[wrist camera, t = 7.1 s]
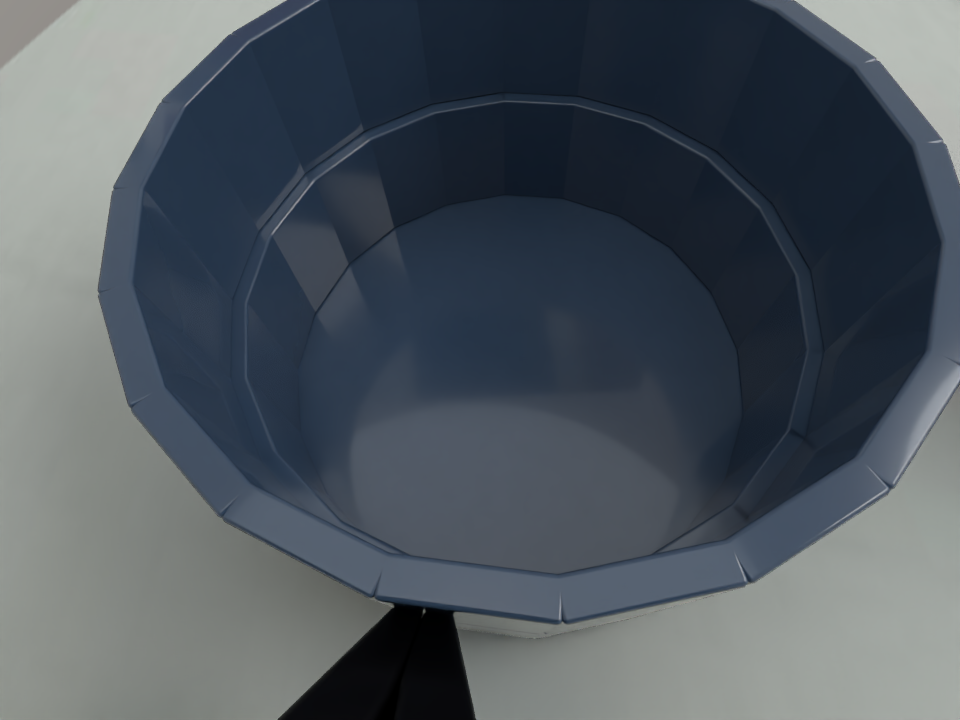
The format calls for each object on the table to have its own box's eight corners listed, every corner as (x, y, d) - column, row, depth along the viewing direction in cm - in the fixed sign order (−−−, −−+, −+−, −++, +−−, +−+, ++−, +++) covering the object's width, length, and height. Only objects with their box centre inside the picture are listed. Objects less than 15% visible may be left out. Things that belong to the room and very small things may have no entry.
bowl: (879, 456, 16) (1203, 286, 9) (401, 764, 13) (264, 908, 6) (583, 135, 23) (621, -124, 15) (215, 297, 20) (36, 78, 12)
